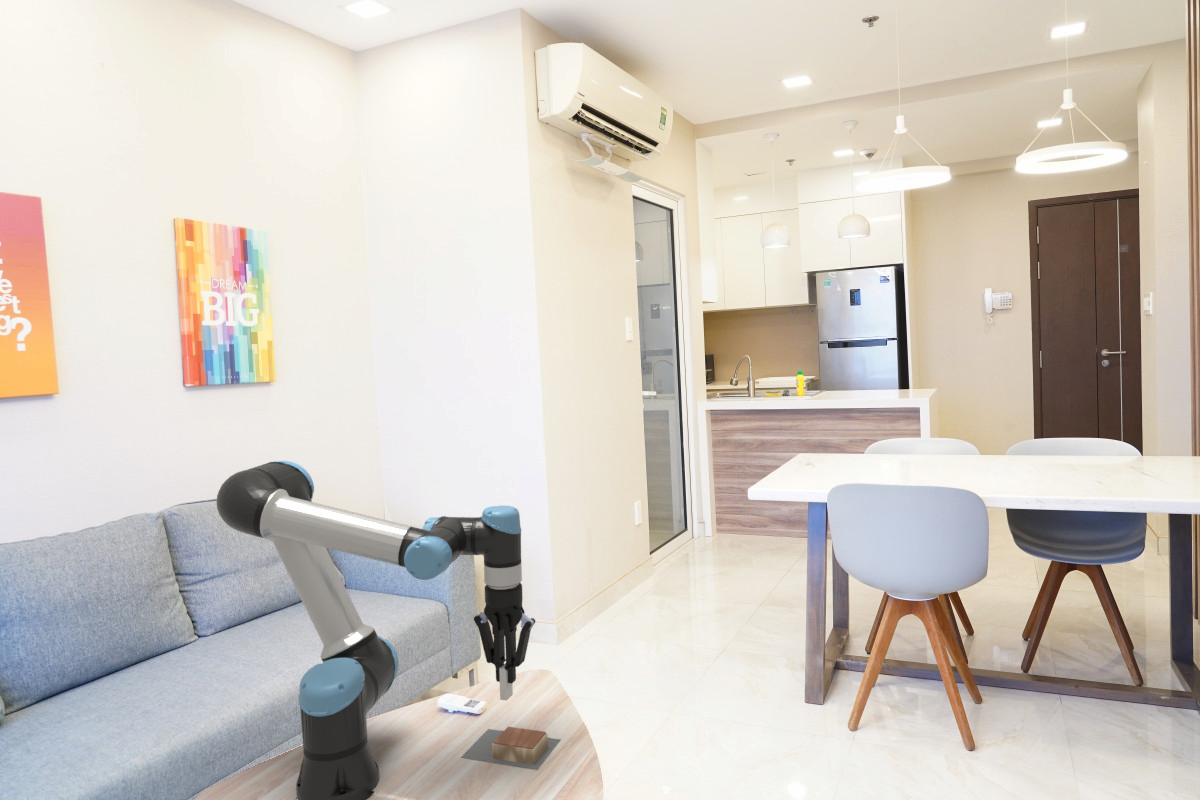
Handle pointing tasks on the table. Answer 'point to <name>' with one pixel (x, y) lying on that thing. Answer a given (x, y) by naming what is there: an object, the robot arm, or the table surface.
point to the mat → (485, 753)
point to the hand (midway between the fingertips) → (506, 697)
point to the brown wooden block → (520, 745)
